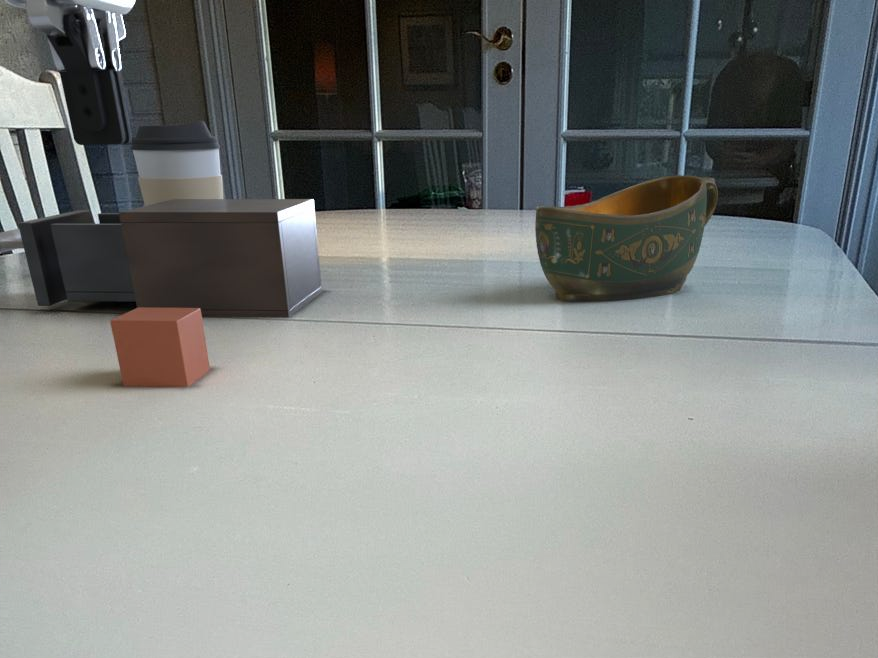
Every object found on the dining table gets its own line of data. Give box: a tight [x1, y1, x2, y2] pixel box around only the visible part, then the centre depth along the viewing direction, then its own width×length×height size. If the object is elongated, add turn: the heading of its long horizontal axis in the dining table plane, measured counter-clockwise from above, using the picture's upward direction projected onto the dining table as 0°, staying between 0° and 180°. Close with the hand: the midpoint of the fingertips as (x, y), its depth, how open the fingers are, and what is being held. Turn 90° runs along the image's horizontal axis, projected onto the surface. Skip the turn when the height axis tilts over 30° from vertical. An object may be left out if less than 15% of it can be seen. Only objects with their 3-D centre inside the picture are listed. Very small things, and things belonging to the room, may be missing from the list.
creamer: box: [534, 174, 719, 303], centre depth 86 cm, size 13×20×10 cm, turn 98°
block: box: [109, 307, 211, 388], centre depth 60 cm, size 4×4×4 cm
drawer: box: [0, 209, 136, 307], centre depth 83 cm, size 18×11×7 cm, turn 85°
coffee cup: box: [130, 120, 224, 206], centre depth 96 cm, size 9×9×15 cm
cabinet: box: [118, 198, 323, 318], centre depth 82 cm, size 14×13×9 cm
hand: (104, 143), depth 58 cm, fingers closed
